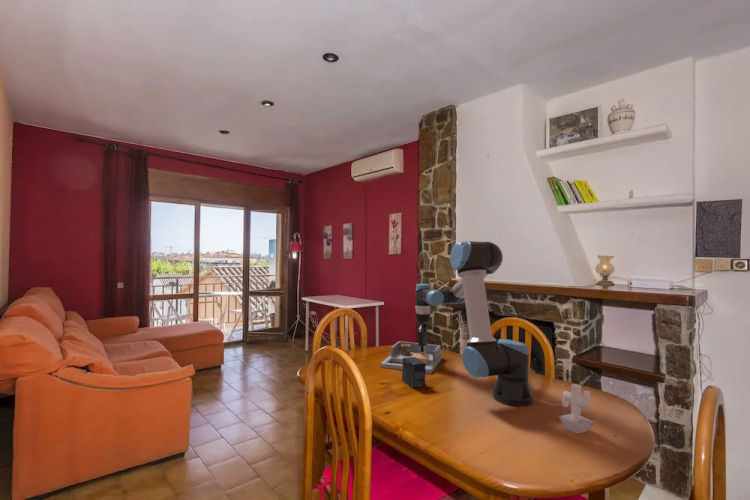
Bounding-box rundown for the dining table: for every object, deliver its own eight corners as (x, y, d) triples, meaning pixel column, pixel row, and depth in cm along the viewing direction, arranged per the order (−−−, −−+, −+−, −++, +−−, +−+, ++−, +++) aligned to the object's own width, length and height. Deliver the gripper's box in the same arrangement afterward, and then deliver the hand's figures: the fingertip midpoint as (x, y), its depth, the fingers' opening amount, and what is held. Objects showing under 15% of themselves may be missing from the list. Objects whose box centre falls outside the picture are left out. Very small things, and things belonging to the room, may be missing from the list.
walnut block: (410, 353, 207) (410, 344, 207) (410, 355, 202) (410, 346, 202) (401, 352, 207) (401, 343, 207) (400, 355, 202) (400, 346, 202)
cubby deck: (442, 358, 204) (442, 345, 204) (431, 373, 178) (431, 359, 178) (397, 353, 214) (397, 341, 214) (380, 367, 188) (380, 353, 188)
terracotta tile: (429, 360, 193) (429, 354, 193) (425, 365, 185) (425, 359, 185) (414, 358, 196) (414, 353, 196) (410, 363, 188) (410, 357, 188)
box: (425, 386, 161) (426, 362, 161) (412, 388, 159) (412, 364, 159) (414, 378, 171) (414, 356, 171) (401, 380, 169) (401, 357, 169)
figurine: (570, 421, 129) (571, 378, 129) (596, 434, 120) (596, 388, 120) (555, 425, 126) (556, 381, 126) (580, 438, 117) (581, 391, 118)
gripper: (419, 310, 202) (418, 354, 202) (412, 314, 190) (412, 360, 190) (432, 311, 200) (432, 355, 200) (426, 315, 187) (426, 362, 187)
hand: (422, 357), depth 195 cm, fingers closed
